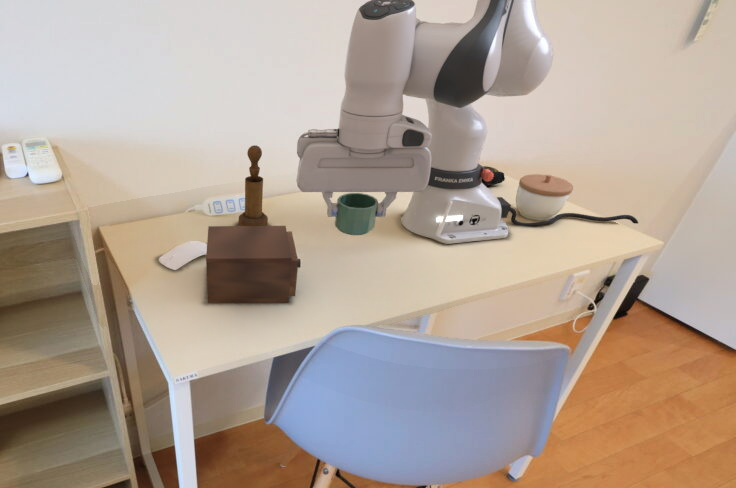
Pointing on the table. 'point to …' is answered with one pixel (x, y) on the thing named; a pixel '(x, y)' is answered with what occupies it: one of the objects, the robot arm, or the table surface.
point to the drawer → (293, 264)
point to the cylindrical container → (356, 213)
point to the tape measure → (496, 179)
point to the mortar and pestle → (253, 193)
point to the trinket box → (542, 196)
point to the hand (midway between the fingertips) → (355, 215)
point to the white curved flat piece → (183, 254)
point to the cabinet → (248, 264)
